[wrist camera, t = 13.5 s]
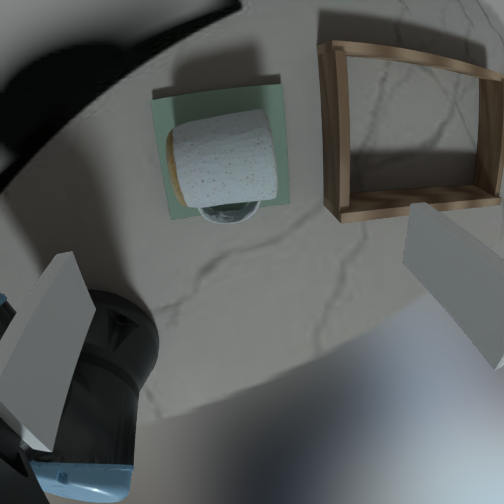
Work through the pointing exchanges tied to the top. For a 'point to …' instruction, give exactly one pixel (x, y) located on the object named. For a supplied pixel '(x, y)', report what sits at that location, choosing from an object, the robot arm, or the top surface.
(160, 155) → the rubber mat
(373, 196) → the open wooden box frame
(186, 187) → the ceramic mug
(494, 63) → the top surface
